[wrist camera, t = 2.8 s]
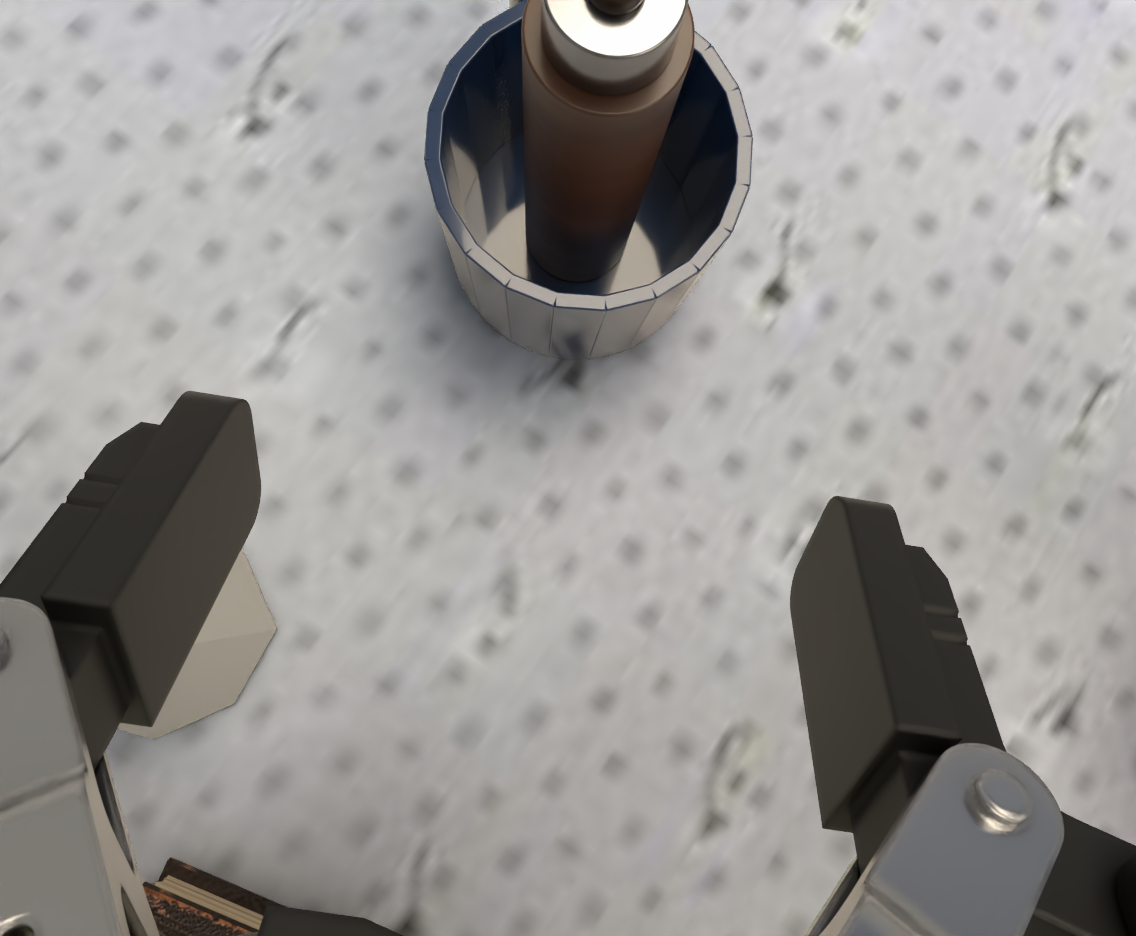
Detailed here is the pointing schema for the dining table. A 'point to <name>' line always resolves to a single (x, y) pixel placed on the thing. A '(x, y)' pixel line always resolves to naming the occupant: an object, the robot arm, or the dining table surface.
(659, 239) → the navy blue mug
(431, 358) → the dining table surface
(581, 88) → the pepper mill
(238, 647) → the flask
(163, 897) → the hardcover book
